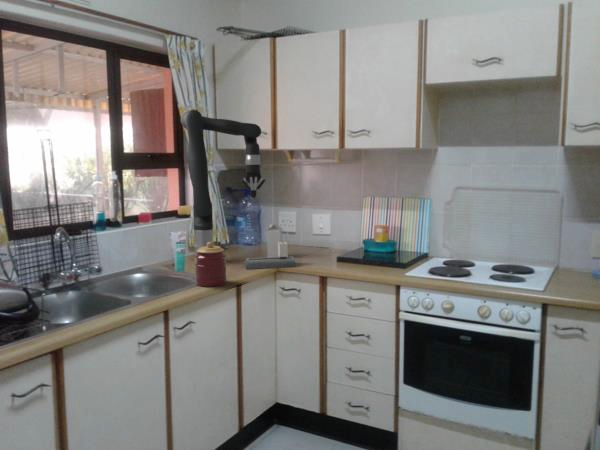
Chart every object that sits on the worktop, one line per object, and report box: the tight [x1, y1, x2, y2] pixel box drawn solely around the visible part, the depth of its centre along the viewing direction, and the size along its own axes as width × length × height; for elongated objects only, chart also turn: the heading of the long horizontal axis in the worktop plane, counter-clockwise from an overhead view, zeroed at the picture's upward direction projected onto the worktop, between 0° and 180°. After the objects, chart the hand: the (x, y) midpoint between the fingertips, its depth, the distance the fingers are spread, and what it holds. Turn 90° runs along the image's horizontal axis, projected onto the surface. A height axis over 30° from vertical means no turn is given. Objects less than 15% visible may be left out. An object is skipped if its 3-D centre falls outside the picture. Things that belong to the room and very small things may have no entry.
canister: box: [194, 242, 228, 287], centre depth 218 cm, size 13×13×18 cm
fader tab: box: [278, 241, 289, 259], centre depth 256 cm, size 4×5×9 cm
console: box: [243, 255, 297, 270], centre depth 255 cm, size 24×12×4 cm, turn 101°
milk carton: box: [266, 220, 284, 257], centre depth 276 cm, size 7×7×19 cm
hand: (253, 197), depth 271 cm, fingers closed
